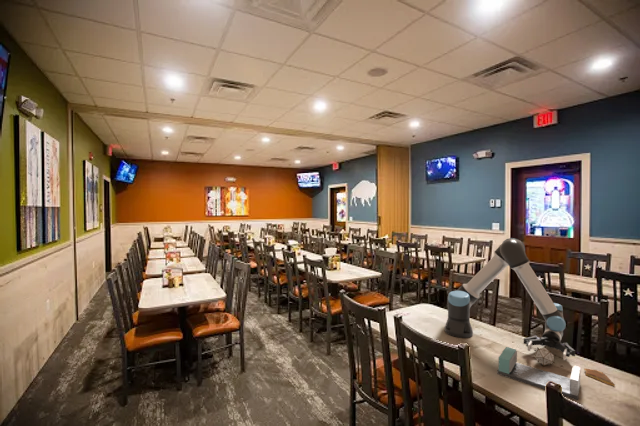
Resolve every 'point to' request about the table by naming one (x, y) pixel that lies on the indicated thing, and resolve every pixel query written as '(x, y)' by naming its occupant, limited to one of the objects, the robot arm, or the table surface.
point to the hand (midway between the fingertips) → (546, 352)
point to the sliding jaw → (507, 360)
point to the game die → (544, 356)
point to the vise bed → (546, 378)
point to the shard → (598, 376)
